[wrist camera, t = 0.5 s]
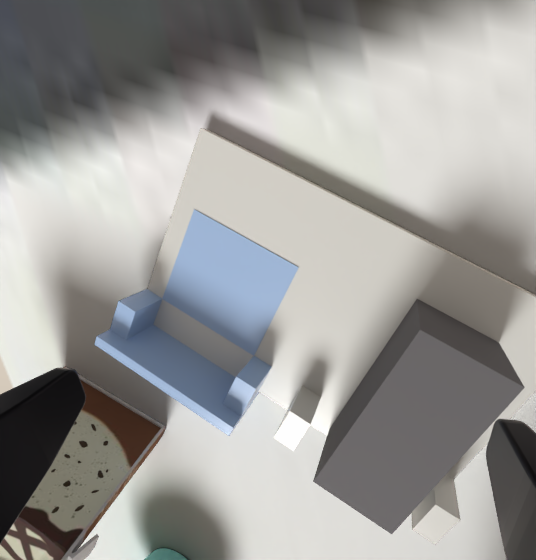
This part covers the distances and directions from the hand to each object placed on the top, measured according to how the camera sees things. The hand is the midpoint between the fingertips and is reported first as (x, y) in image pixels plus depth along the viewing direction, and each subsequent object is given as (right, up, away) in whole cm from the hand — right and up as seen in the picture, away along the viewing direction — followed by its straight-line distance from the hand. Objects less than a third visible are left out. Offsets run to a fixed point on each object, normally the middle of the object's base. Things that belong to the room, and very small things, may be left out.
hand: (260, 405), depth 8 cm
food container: (-12, -9, +21) cm, 26 cm away
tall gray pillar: (+7, -3, +11) cm, 13 cm away
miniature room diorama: (+3, +1, +12) cm, 13 cm away
